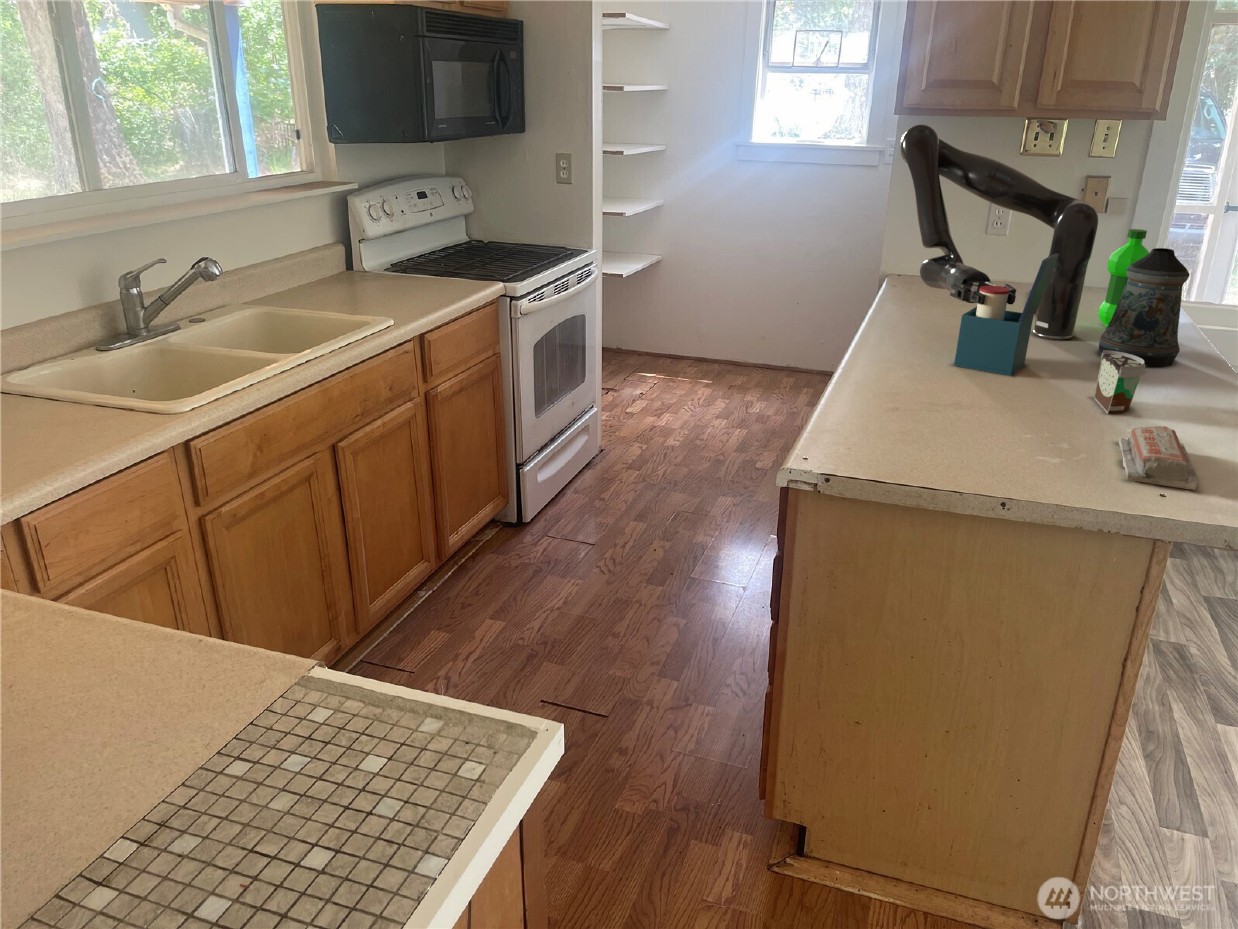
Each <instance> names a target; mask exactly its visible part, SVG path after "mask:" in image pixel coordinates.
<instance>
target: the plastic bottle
mask: <svg viewBox="0 0 1238 929" xmlns="http://www.w3.org/2000/svg"><path fill="white" fill-rule="evenodd" d="M1147 233H1148V230H1146V229H1141V228H1138V229H1137V228H1131V229H1128V231H1127V235H1126V238H1128V242H1127V243H1126V244H1124V245H1123V246H1121V247H1119V248H1118V249H1116V250H1115V251H1113V252H1112V253H1111V254H1110V256H1109V258H1108V262H1107V271H1108V273H1109V274H1110V277H1109V281H1108V286H1107V289H1106V290H1107V291H1106V295H1105V299H1104V301H1103V302H1102V303H1101V305H1100V306H1099V309H1098V318H1099V321H1100V322H1101V323H1102V324H1103V325H1104V326H1105V327H1107V326H1108V324H1109V323H1110V321H1111V319H1112V316H1113V314H1114V312H1115V309H1116V307H1117V305H1118V302H1119V300H1120V298H1121V295H1122V293H1123V290H1124V288H1125V286H1126V283H1127V279H1128V277H1127V268H1128V267H1129V266H1130V265H1131V264H1133V263H1134V262H1136V261H1138V260H1139V259H1141V258H1143V257H1144V256H1146V255H1148V254H1149V253H1150V251H1149V249H1147V248H1146V247H1145V246H1144V244H1143V241H1144V240H1145V239H1146V237H1147Z"/></svg>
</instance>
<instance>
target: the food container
mask: <svg viewBox="0 0 1238 929" xmlns="http://www.w3.org/2000/svg"><path fill="white" fill-rule="evenodd" d="M1100 360H1101V361H1100V366H1099V371H1098V375H1097V381H1096V387H1095V392H1094V397H1093V399H1094V401H1096V403H1097V404H1098V405H1099V406H1100V407H1101V408H1102V409H1103V410H1104V411H1105V413H1106V414H1107V415H1122V414H1125V413H1128V412H1129V411H1130V409H1131V408H1130V407H1131V405H1132V403H1133V399H1134V396H1135V393H1136V390H1137V387H1138V384H1139V381H1140V378H1141V377H1142V376H1144V375H1146V367H1145V364H1144V360H1143V359H1141V358H1139V357H1137V356H1134V355H1131V354H1127V353H1123V352H1117V351H1108V350H1103V353H1102V356H1100Z"/></svg>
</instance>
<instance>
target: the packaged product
mask: <svg viewBox="0 0 1238 929" xmlns="http://www.w3.org/2000/svg"><path fill="white" fill-rule="evenodd" d="M1118 444H1119V448H1120V450H1121V451H1120V452H1121V455H1122V466H1123V467H1124V470H1125V474H1126V477H1127V480H1128V481H1134V482H1140V483H1141V482H1142V483H1146V484H1147V483H1148V484H1153V485H1159V486H1165V487H1173V488H1177V489H1178V488H1179V489H1185V490H1186V489H1187V490H1193V491H1196V489H1197V486H1198V484H1199V481H1198V478H1197V475H1196V472H1195V470H1194V468H1193V465H1192V462H1191V460H1190V457H1189V455H1188V452H1187V449H1186V446H1185V444H1184V443H1181V442H1180V439H1179V437H1178V435H1177V432H1176V430H1175V429H1171V428H1169V427H1168V426H1165V425H1156V426H1145V427H1135V428H1132V429H1131V431H1130V432H1129V437H1127V438H1123V437H1119V440H1118Z"/></svg>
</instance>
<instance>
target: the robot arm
mask: <svg viewBox="0 0 1238 929" xmlns="http://www.w3.org/2000/svg"><path fill="white" fill-rule="evenodd" d="M899 144H900V145H899V153H900V156H901V159H902V160H903V161H904V162H905V163H906V164H907V167H908V169H909V172H910V175H911V179H912V183H913V188H914V195H915V196H914V197H915V205H916V214H917V222H918V228H919V233H920V238H921V243H922V246H923V248H925V249H939V250H940V251H941V252H942V253H943V255H939V256H935V257H930V258H928V259H925V260H924V261H923V262H922V264H921V265H920V267H919V276H920V279H921V281H922V282H923V284H925V285H926V286H927V287H929V288H933V289H939V290H947V291H949V296H950V297H951V298H952V297H953V298H955V299H957V300H959V301H961V302H966V303H967V304H976V303H977V305H978V304H980V305H983V304H984V302H985V295H984V294H982V293H981V292H980V287H981V286H1001V287H1005V288H1008V289H1010V292H1009V294H1008V300H1007V304H1008V305H1014V303H1015V302H1016V298H1017V296H1016V293H1017V289H1016V288H1015V287H1014V286H1012V285H1011V284H1009V283H1006V284H1004V285H1003V286H1002V285H1000V284H995V283H993V282H992V281H991V279H990V277H989V276H988V275H987V274H986V273H985V272H983V271H982V270H979V269H977V268H975V267H973V266H969V265H966V264H965V262H964V260H963V258H962V255H961V254H960V253H959V250H958V248H957V246H956V245H955V244H956V243H955V242H954V239H953V236H952V234H951V230H950V228H951V227H950V222H949V217H948V212H947V207H946V203H945V199H944V195H943V190H942V184H941V180H940V178H941V177H942V178H945V179H947V180H948V181H950V182H952V183H954V184H955V185H956V186H958V187H960V188H962V189H963V190H965V191H966V192H969V193H970V194H973V195H974V196H976V197H978V198H980V199H983V200H984V201H986V202H988V203H991V204H993V205H996V206H998V207H1000V208H1003V209H1006V210H1009V211H1013V212H1016V213H1020V214H1021V213H1022V214H1024V215H1028V216H1030V217H1032V218H1034V219H1036V220H1038V221H1040V222H1042V223H1043V224H1045V225H1047V226H1048V227H1050V228H1052V229H1053V235H1052V240H1051V245H1050V249H1049V253H1048V256H1047V257H1049V256H1051V255H1053V254H1055V253H1057V254H1059V256H1058V259H1057V261H1056V264H1055V266H1054V269H1053V271H1052V274H1051V276H1050V279H1049V282H1048V284H1047V287H1046V289H1045V292H1044V294H1043V297H1042V299H1041V302H1040V304H1039V307H1038V310H1037V312H1036V313H1035V314H1034V315H1036V317H1035V321H1034V327H1033V329H1032V334H1033V335H1035V336H1036V337H1040V338H1043V339H1048V340H1061V341H1063V340H1070V339H1073V338H1074V333H1075V327H1076V323H1077V319H1078V313H1079V310H1080V309H1079V308H1080V304H1081V300H1082V296H1083V291H1084V290H1083V289H1084V286H1085V281H1086V275H1087V272H1088V266H1089V262H1090V260H1091V259H1092V258H1091V257H1092V253H1093V250H1094V245H1095V241H1096V237H1097V233H1098V232H1097V231H1098V227H1099V215H1098V212H1097V209H1095V207H1094V206H1093V205H1092V204H1091V203H1089V202H1088V201H1085V200H1083V199H1079V198H1076V197H1072V196H1070V195H1066V194H1064V193H1061V192H1058V191H1056V190H1053V189H1050V188H1048V187H1047V186H1045V185H1043V184H1041V183H1040V182H1038V181H1037V180H1035V179H1033V178H1032V177H1030V176H1028V175H1027V174H1025V173H1024V172H1021V171H1019V169H1016V168H1014V167H1012V166H1010V165H1008V164H1006V163H1003V162H1001V161H999V160H996V159H994V158H991V157H987V156H985V155H981V154H976V153H972V152H968V151H965V150H962V149H959V148H957V147H955V146H953V145H951V144H950V143H948V142H946V141H944V140H943V139H941V138H939V135H938V133H937V132H936V130H935V129H934V128H932V127H931V126H929V125H927V124H916V125H913V126H911V127H910V128H909V129H908V130H906V131H905V133H904V134H903V135H902V137H901V140H900V142H899ZM1030 292H1031V289H1030V290H1029V292H1028V293H1029V294H1030Z"/></svg>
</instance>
